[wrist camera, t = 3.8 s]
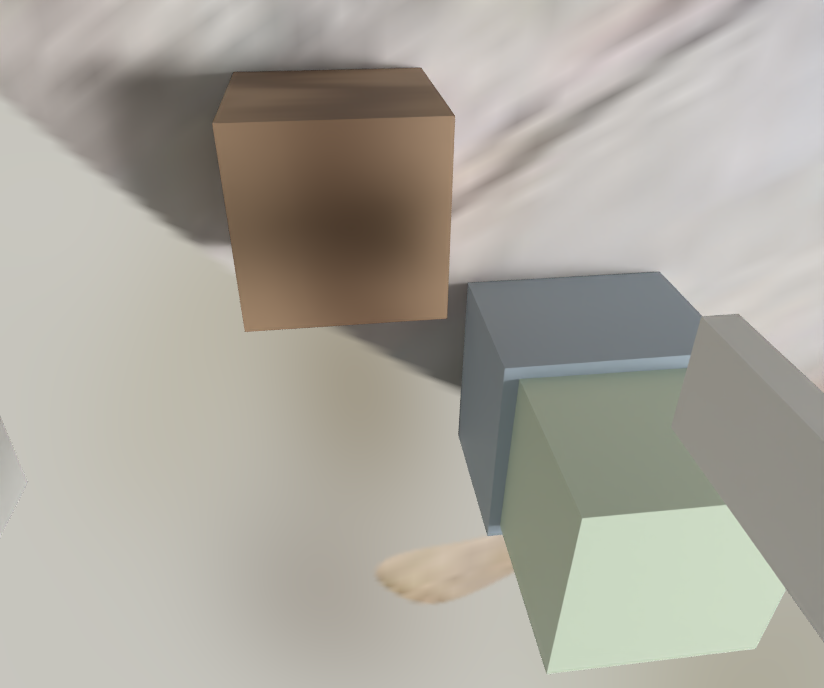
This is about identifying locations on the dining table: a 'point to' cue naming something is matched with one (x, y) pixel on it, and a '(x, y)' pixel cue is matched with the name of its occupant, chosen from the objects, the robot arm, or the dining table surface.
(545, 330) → the slate block
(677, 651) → the sage block
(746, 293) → the dining table surface
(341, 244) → the walnut block
